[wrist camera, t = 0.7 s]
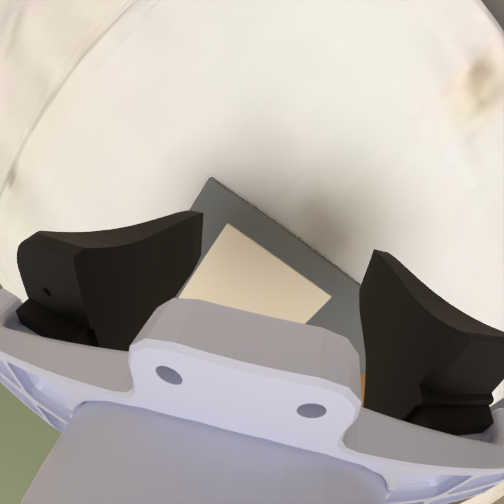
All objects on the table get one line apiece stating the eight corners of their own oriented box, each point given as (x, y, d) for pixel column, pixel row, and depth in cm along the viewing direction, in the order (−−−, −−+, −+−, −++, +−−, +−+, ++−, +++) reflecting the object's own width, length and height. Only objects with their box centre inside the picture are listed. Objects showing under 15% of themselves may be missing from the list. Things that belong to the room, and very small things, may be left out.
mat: (371, 430, 30) (372, 434, 29) (142, 298, 27) (139, 302, 27) (460, 366, 24) (462, 369, 24) (211, 177, 21) (209, 178, 21)
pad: (260, 364, 27) (260, 365, 27) (172, 307, 26) (171, 308, 26) (331, 295, 23) (331, 297, 23) (227, 222, 22) (227, 223, 22)
